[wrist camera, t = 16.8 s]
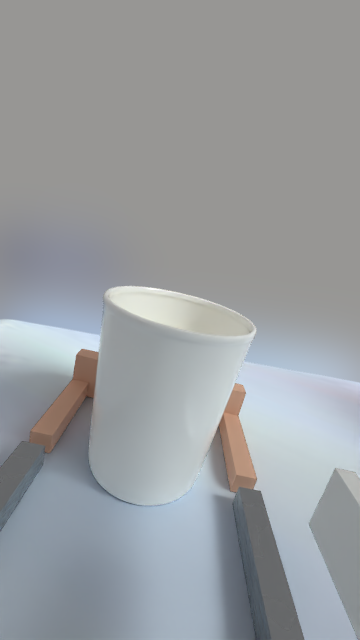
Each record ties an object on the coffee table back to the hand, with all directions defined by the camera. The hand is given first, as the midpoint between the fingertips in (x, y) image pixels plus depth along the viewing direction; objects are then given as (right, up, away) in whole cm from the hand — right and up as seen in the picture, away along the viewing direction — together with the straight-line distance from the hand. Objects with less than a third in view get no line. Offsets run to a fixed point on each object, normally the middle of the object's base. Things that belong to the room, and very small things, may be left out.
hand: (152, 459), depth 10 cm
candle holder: (-2, -5, +11) cm, 13 cm away
